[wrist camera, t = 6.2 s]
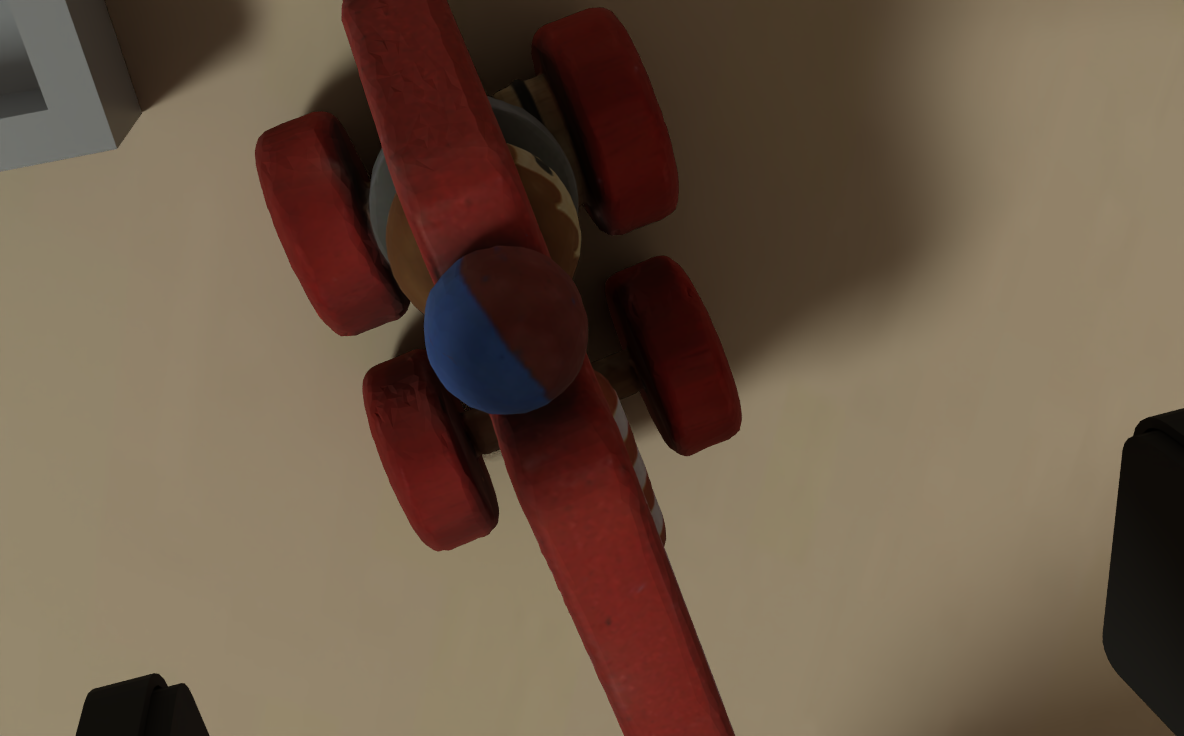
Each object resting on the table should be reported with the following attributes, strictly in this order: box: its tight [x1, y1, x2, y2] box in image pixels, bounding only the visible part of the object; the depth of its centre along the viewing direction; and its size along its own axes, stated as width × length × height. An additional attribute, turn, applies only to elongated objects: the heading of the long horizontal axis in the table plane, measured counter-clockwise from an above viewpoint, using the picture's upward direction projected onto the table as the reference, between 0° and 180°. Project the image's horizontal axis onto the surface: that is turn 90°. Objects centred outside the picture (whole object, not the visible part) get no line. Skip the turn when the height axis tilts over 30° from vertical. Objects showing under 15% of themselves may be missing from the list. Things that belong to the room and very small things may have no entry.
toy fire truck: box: [255, 0, 742, 736], centre depth 18 cm, size 7×12×10 cm, turn 18°
